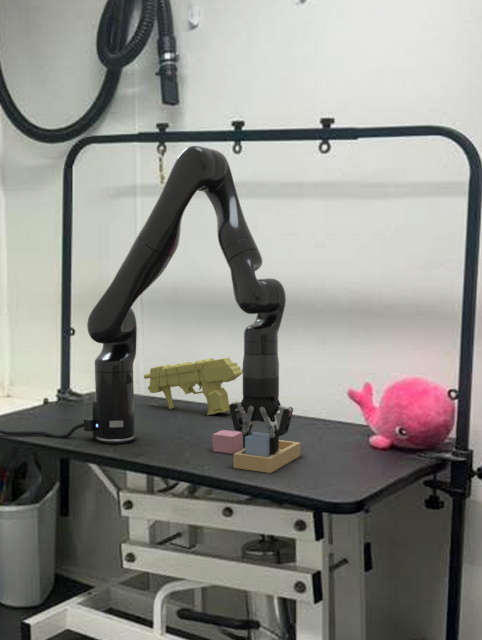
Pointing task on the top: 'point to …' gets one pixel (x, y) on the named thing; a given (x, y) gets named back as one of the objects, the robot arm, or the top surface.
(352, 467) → the top surface
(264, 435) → the blue block
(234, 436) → the pink block
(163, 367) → the firearm
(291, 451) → the pad holder
